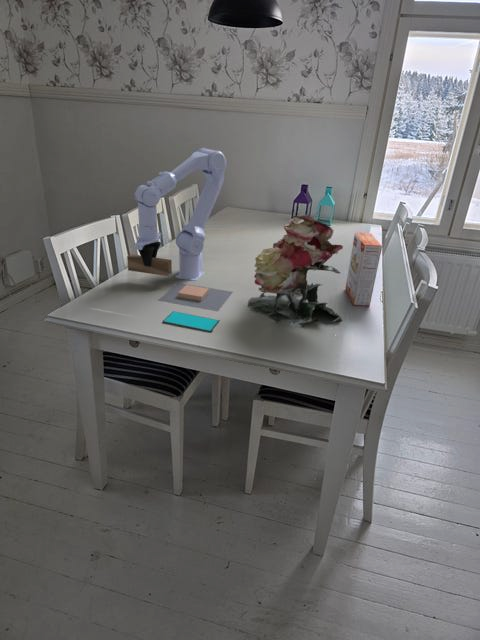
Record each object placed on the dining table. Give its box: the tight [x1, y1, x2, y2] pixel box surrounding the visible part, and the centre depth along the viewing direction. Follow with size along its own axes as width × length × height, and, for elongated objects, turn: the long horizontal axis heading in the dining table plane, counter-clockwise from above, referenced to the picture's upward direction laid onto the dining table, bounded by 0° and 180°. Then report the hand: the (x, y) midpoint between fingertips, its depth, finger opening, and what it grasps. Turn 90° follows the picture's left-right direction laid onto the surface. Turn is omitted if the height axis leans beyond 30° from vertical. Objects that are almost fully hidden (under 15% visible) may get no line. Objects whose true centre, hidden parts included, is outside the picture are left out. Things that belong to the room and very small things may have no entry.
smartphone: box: [162, 311, 221, 333], centre depth 122 cm, size 7×1×15 cm
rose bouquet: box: [247, 213, 359, 328], centre depth 127 cm, size 26×29×30 cm
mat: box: [157, 282, 234, 312], centre depth 138 cm, size 16×20×1 cm
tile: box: [178, 284, 209, 301], centre depth 138 cm, size 7×2×8 cm
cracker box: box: [344, 232, 383, 307], centre depth 141 cm, size 14×6×21 cm, turn 178°
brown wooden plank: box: [126, 253, 173, 277], centre depth 142 cm, size 2×15×5 cm, turn 74°
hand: (149, 264), depth 142 cm, fingers closed on brown wooden plank, 2 cm apart
